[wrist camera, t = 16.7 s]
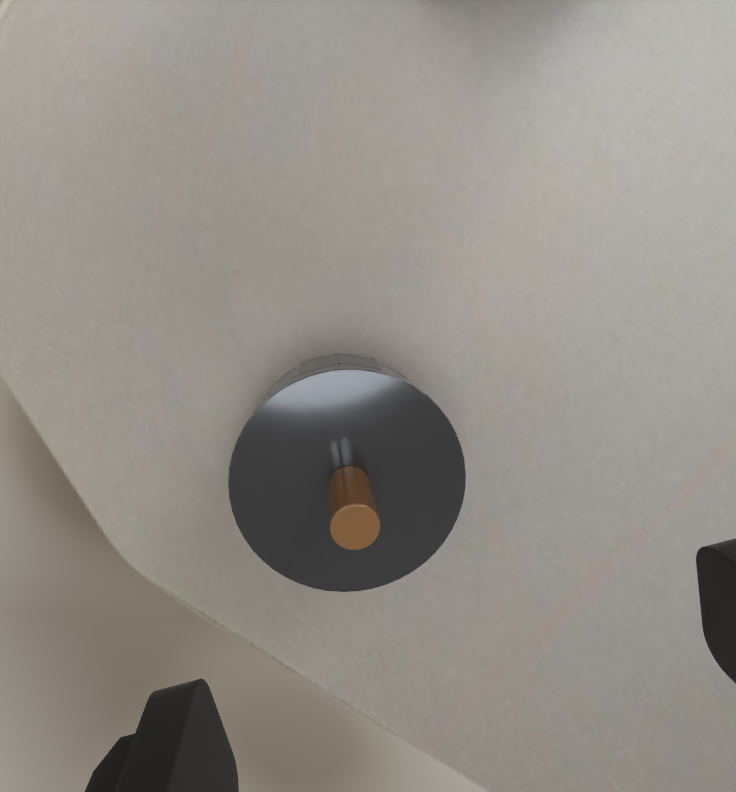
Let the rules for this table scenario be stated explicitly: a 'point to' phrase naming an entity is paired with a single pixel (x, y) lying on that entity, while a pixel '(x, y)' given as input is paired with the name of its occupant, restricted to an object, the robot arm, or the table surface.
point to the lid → (346, 479)
